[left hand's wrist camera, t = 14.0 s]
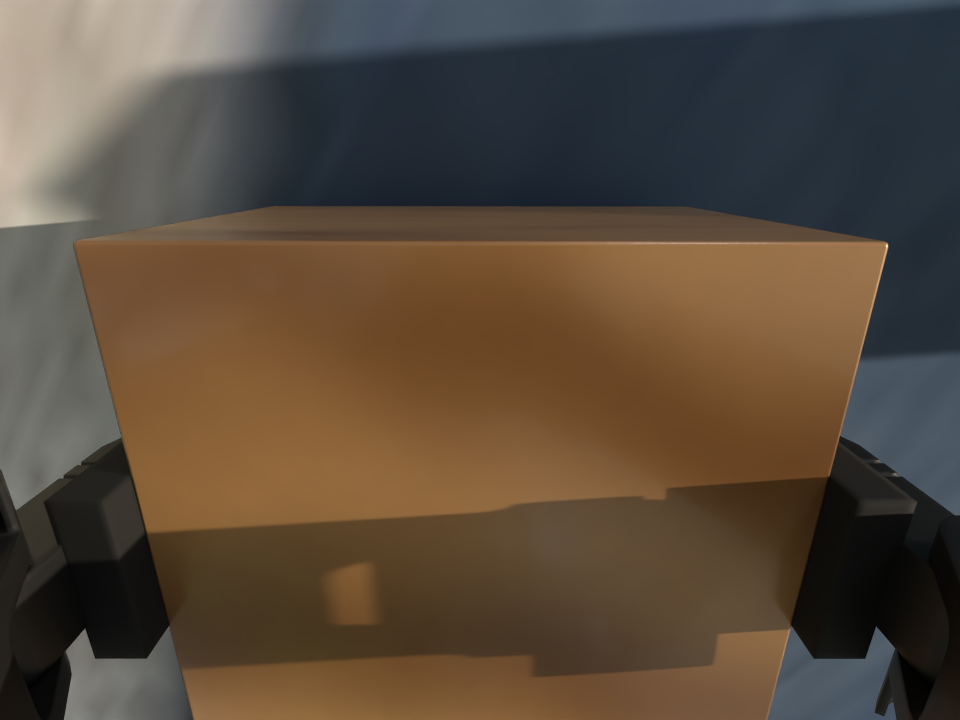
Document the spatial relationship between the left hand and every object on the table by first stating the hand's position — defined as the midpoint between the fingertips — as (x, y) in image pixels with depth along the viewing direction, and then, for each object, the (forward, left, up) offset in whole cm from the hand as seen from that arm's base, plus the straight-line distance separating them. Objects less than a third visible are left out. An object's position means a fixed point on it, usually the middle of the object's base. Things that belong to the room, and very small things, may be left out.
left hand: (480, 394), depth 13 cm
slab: (+19, +14, -1) cm, 23 cm away
